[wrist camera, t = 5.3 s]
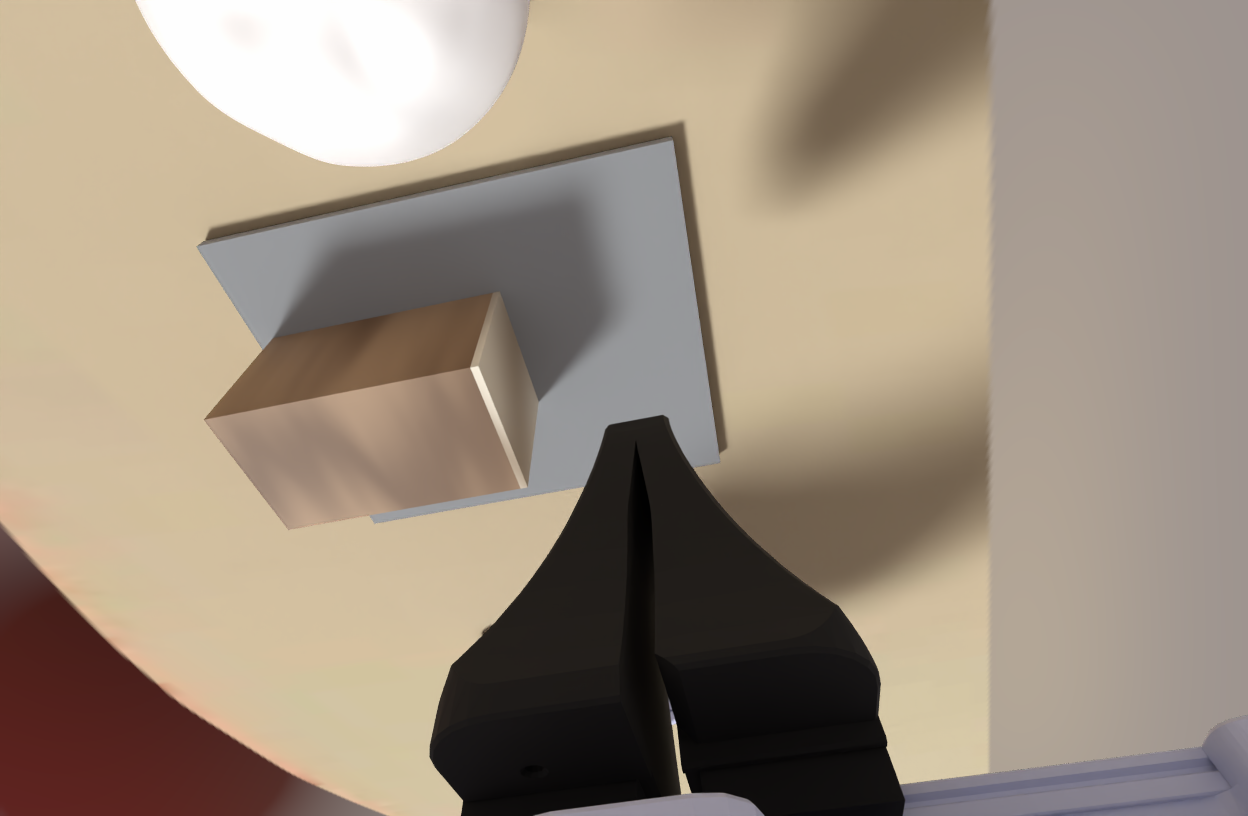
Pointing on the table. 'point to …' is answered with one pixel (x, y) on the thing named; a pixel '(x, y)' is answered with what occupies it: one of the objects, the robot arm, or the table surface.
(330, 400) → the walnut block
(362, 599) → the table surface
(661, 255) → the mat
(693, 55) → the table surface
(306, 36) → the milkshake
